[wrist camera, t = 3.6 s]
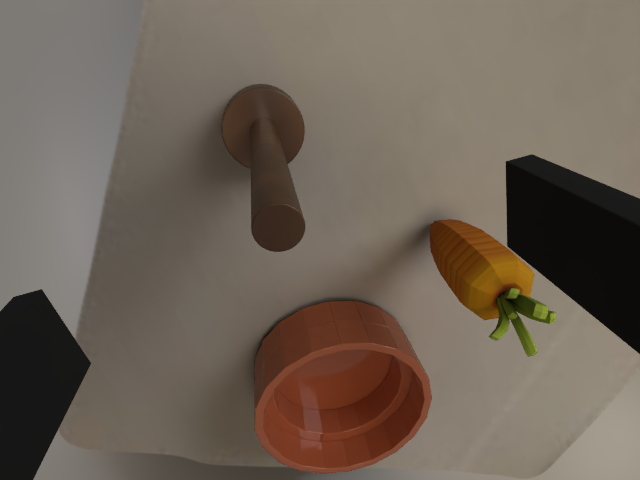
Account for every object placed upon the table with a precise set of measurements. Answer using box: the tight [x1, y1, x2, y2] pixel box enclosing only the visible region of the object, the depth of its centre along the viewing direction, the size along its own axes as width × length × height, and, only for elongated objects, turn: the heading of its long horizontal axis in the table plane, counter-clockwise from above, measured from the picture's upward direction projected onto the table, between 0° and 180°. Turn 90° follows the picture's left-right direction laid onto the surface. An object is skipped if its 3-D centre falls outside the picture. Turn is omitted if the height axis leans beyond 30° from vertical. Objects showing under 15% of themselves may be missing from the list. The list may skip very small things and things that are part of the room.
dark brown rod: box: [222, 84, 305, 252], centre depth 22 cm, size 6×6×18 cm
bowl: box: [254, 301, 432, 474], centre depth 38 cm, size 15×15×6 cm
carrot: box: [430, 220, 556, 357], centre depth 29 cm, size 5×5×15 cm
